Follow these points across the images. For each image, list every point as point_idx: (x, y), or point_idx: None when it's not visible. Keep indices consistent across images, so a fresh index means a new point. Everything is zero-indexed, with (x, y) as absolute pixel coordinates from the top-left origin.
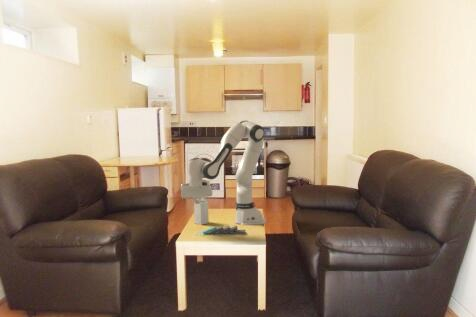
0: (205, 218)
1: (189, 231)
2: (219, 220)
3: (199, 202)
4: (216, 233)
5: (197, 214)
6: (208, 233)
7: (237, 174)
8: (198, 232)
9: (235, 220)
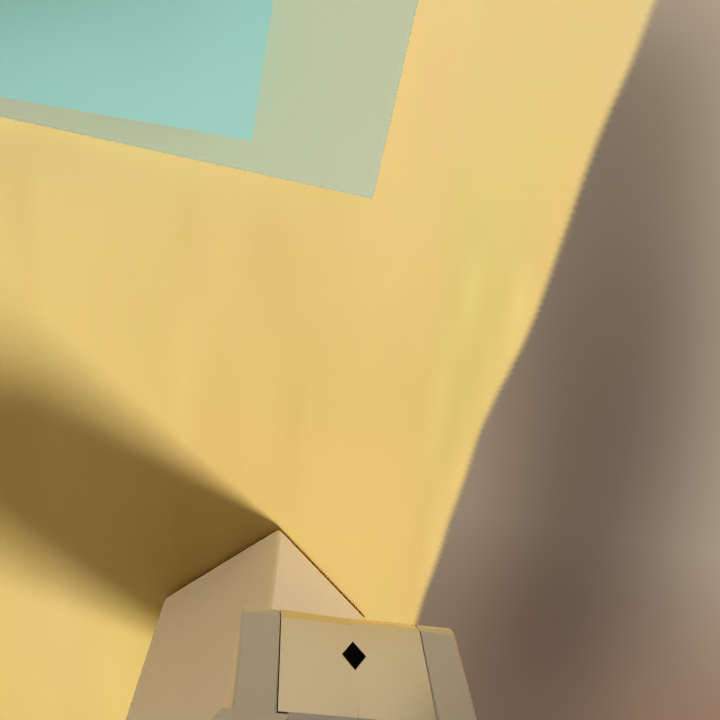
0: (193, 634)
1: (490, 283)
2: (7, 666)
3: (244, 651)
4: None
5: None
6: None
7: None
8: (350, 156)
9: None
